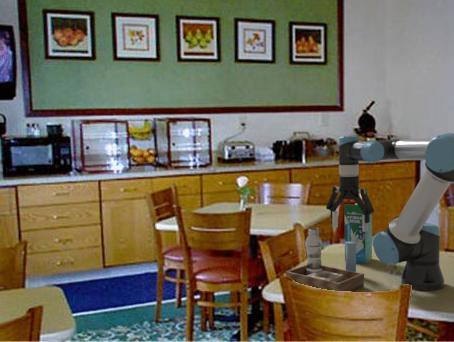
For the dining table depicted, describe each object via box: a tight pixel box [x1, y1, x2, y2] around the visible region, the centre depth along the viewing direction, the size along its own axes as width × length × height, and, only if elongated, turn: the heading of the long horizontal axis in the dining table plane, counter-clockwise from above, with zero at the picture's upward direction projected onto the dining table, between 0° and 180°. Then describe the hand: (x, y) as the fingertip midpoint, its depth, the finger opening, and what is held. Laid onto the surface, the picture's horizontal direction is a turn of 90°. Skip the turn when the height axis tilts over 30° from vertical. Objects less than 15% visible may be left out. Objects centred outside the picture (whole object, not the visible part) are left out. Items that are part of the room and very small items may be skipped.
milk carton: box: [343, 202, 373, 264], centre depth 251 cm, size 9×9×25 cm
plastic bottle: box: [304, 227, 323, 275], centre depth 225 cm, size 6×7×20 cm
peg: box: [344, 242, 357, 272], centre depth 230 cm, size 4×4×13 cm
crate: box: [285, 264, 365, 292], centre depth 217 cm, size 24×16×5 cm, turn 45°
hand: (349, 229), depth 228 cm, fingers open, 13 cm apart
